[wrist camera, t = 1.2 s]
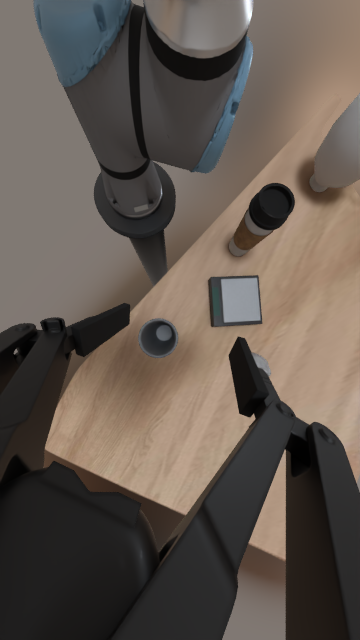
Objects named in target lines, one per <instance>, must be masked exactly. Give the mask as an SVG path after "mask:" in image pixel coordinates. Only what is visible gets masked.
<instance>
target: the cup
mask: <svg viewBox="0 0 360 640" xmlns="http://www.w3.org/2000/svg"><path fill="white" fill-rule="evenodd" d="M138 340H139V345H140V347H141V349H142V350H143V352H144V353H146V354H147V355H148V356H150V357H153V358H162V357H166V356H168V355H169V354H171V353H172V352H173V351H174V349H175V348H176V346H177V343H178V334H177V330H176V328H175V327H174V325H173V324H172V323H170V322H169V321H167V320H165V319H160V318H158V319H152V320H150V321H148V322H147V323H145V324H144V325H143V326H142V328H141V330H140V332H139V337H138Z"/></svg>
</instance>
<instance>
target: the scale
mask: <svg viewBox="0 0 360 640" xmlns="http://www.w3.org/2000/svg"><path fill="white" fill-rule="evenodd" d="M208 283H209V297H210V312H211V326H212V327H217V326H234V325H251V324H262V314H261V302H260V290H259V278H258V275H256V276H229V277H211V278H210V279H209V280H208Z"/></svg>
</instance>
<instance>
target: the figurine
mask: <svg viewBox="0 0 360 640" xmlns="http://www.w3.org/2000/svg"><path fill="white" fill-rule="evenodd" d="M252 355H253V358H254V360H255V362H256V364H257V367H258V368H262V369H263V370H264V371H265V372H266V373H267V375H268V376H270V375H271V370H270V368H269V366H268V362H267V360H266V359H264V358H263V357H262V356H260V355H258V354H256V353H252Z"/></svg>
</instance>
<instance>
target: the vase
mask: <svg viewBox="0 0 360 640" xmlns="http://www.w3.org/2000/svg"><path fill="white" fill-rule="evenodd" d="M359 179H360V94H359V95H358V96H357V97H356V98H355V99H354V101H353V102H352V103H351V104H350V105H349V106H348V108H347V109H346V110H345V111H344V112H343V113H342V115H341V116H340V117H339V118H338V119H337V120H336V122H335V123H334V124H333V126H332V127H331V129H330V131H329V133H328V134H327V136H326V138H325V139H324V141H323V143H322V144H321V146H320V148H319V149H318V151H317V153H316V156H315V173H314V174H313V175H312V176H311V178H310V186H311V188H312V189H313V190H314V191H316V192H323V191H325V190H326V189H327V188H328V187H331V188H342V187H347V186H349V185H351V184H352V183H354V182H356V181H357V180H359Z"/></svg>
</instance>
